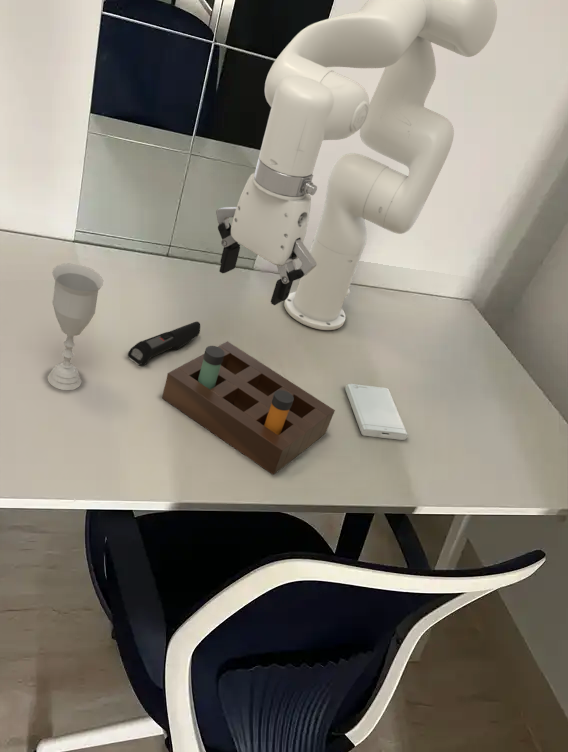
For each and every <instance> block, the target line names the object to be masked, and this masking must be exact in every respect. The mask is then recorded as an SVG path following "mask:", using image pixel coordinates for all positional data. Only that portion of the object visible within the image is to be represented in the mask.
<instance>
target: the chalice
mask: <svg viewBox="0 0 568 752" xmlns="http://www.w3.org/2000/svg"><path fill="white" fill-rule="evenodd" d="M51 273H52V277H53V279H54V289H53V297H52V306H53V307H52V308H53V310H54V314H55V315H54V316H55V317H56V321H57V323H58V325H59V327H60V330H61V331H62V333H63V334H65V335H66V339H65V341H64V342H63V345H64V346H65V349H64V350H62V352H61V355H62V357H63V362H59V363H57V364H55V365H54V366H53V368H52V369H51V371H50V373H49V374H48V375H47V381H48V383H49V384H50V385H51V386H52V387H53V388H55V389H58V390H62V391H74V390H76V389H78V388H79V387H81V385H82V377H81V375H80V373H79V369H78V368H77V367H76V366H75V364H73V363H71V361H72V358H73V357H74V356H75V354H74V352H73V348H74V347H75V346H76V344H75V342H74V337H77V336H79V335H80V334H82V332H83V331H84V330H85V329H86V327H87V326H88V325H89V323H91V322H92V321H91V320H92V319H93V318H94V316H95V314H96V308H97V301H98V295H99V291H100V289H101V288H102V287H103V286H104V279H103V276H102V275H101V274H99V272H98V271H96V270H94V269H93V268H90V267H88V266H86V265H82V264H78V263H71V262H69V263H61V264H58V265H56V266H55V267H54V268H53V269H52V272H51Z"/></svg>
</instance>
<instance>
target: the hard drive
mask: <svg viewBox="0 0 568 752" xmlns="http://www.w3.org/2000/svg"><path fill="white" fill-rule="evenodd" d="M344 390H345V392H346V396H347V398H348V401H349V404H350V407H351V409H352V412H353V414H354V417H355V420H356V422H357V423H356V424H357V426H358V428H359V431H360V434H361V436H363V437H373V438H380V439H381V438H382V439H388V440H389V439H390V440H398V441H405V440H407V438H408V436H409V434H408V432H407V429H406V427H405V424H404V421H403V419H402V417H401V414H400V412H399V409H398V408H397V405H396V403H395V400H394V398H393V396H392V393H391V392H390V389H389V388H387V387H381V386H374V385H373V386H372V385H364V384H356V383H347V384H346V385H345V388H344Z"/></svg>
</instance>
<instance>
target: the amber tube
mask: <svg viewBox="0 0 568 752" xmlns="http://www.w3.org/2000/svg"><path fill="white" fill-rule="evenodd" d="M293 400H294V397H293V396H292V394H290V393H289V392H287V391H284V390H278V391H276V392H275V393H274V396H273V399H272V404H271V407H270V409H269V412H268V415H267V418H266V421H265V424H264V426H265V427H267V428H268V429H270V430H271V431H273V432H274V433H276V434H277V435H280V434H281V431H282V428H283V425H284V423H285V420H286V417H287V415H288V412H289V409H290V408H291V406H292V403H293Z"/></svg>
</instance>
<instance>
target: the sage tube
mask: <svg viewBox="0 0 568 752" xmlns="http://www.w3.org/2000/svg"><path fill="white" fill-rule="evenodd" d="M203 354H204V357H203V358H204V359H203V363H202V367H201V371H200V374H199V378H198V382H199V383H201V384H202V385H204V386H205V387H207V388H208V389H212V388H214V387H215V384H216V381H217V377H218V373H219V370H220V366H221V363H222V362H223V358H224V355H225V353H224V351H223V350H222V349H221V348H219V347H218V346H216V345H208V346H206V348H205V349H204V353H203Z"/></svg>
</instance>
